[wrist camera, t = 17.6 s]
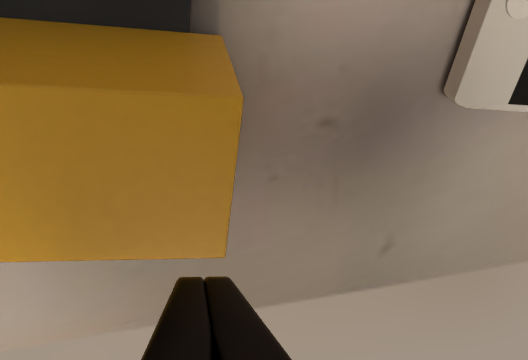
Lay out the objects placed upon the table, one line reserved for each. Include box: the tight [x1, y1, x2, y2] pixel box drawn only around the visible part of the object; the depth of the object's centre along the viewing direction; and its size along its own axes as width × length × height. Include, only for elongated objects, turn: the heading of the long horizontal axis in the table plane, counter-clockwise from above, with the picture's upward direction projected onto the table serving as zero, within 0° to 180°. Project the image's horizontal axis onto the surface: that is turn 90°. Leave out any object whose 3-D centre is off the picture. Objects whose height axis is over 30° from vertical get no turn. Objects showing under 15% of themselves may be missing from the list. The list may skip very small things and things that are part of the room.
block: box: [0, 17, 244, 262], centre depth 12 cm, size 4×4×9 cm
